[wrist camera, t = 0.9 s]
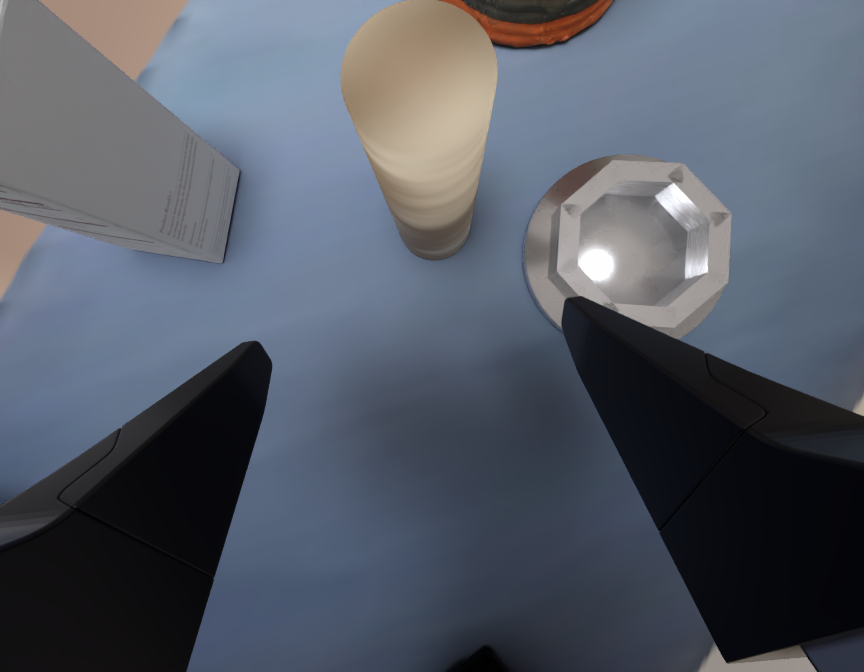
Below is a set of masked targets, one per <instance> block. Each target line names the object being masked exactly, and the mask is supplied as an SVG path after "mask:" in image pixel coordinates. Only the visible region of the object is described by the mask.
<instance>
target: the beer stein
mask: <svg viewBox="0 0 864 672" xmlns="http://www.w3.org/2000/svg"><path fill="white" fill-rule="evenodd" d="M439 1H443V2H446V3H449V4H452V5H454V6H456V7H458V8H460V9H462V10H464V11H465V12H467V13H468V14H469V15H471V16H472V17H473V18H474V19H475V20H476V21H477V22H478V23H479V24H480V25H481V26H482V28H483V29H484V30H485V32H486V33H487V35H488V36H489V38H490V40H491V41H492V42H494V43H497V44H501V45H507V46H512V47H514V48H517V47H518V48H519V47H530V46H535V45H539V44H553V43H555V42H556V41H559V42H561V41H566V40H568V39H569V38H570V37H571V36H574V35H576V34H578V33H579V32H581V31H582V30H583V29H585V28H586V27H589V26H591V25H592V24H594V23H595V22H596V21H597V20H598V19H599V18H601V16H602V14H603V13H604V12H605V11H606V9H607V8H608V7H609V6H610V5H611V3H612V1H613V0H439Z"/></svg>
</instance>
